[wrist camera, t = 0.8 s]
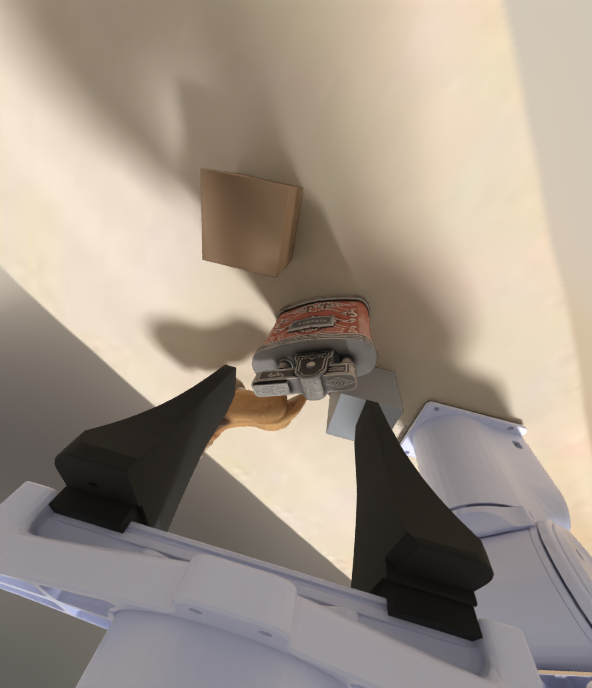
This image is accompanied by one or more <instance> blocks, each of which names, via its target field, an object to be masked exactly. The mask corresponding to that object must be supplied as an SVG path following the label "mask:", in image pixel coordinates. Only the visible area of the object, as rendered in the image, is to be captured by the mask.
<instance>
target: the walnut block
mask: <svg viewBox="0 0 592 688" xmlns="http://www.w3.org/2000/svg"><path fill="white" fill-rule="evenodd" d="M302 193H303V188H301V187H297V186H292V185H287V184H283V183H278V182H274V181H269V180H265V179H260V178H255V177H251V176H246V175H242V174H237V173H231V172H224V171H216V170H209V169H202V168H201V210H202V260H206V261H210V262H214V263H218V264H222V265H226V266H230V267H235V268H239V269H243V270H247V271H251V272H255V273H259V274H264V275H268V276H272V277H277V276H278V275H279V274H280V272H281V271H282V270H283V269H284V268H285V267H286V265H287V264H288V263H289V262H290V261H291V259H292V253H293V247H294V241H295V235H296V229H297V223H298V217H299V211H300V205H301V199H302Z"/></svg>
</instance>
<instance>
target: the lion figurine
mask: <svg viewBox="0 0 592 688" xmlns="http://www.w3.org/2000/svg"><path fill="white" fill-rule="evenodd" d="M306 400H307V399H306V398H305V396H303V395H302V394H299V395H297V396H295V397H293V398H291V399H289V400H287V395H280V396H265V397H258V396H256V395H255V393H254V392H253V391H250V390H245V388H244V387H238V388H236V390H235V396H234V398H233V401H232V403H231V405H230V407H229V409H228V411H227V413H226V415H225V416H224V418H223V420H222V421H221V423H220V425H219V426H218V428H217V430H216V431H215V433H214V434H213V436H212V438H211V439H210V441H209V443H208V444H207V446H206V448H205V450H204V451H203V453H202V455H201V457H200V458H202V457H203V455H204V452H205V451H206V450H207V448H208V447H210V446H211V445H212V444H213V442H214V440H215V439H216V438H217V437H218V436H219V435H220V434H221V432H223V431H224V430H226V429H228V428H232V427H244V426H253V427H257V428H260V429H263V430H267V431H276V430H280V429H283V428H285V427H287V426H288V425H289V423H290V422H291V420H292V419H293V418H294V417H295V416H296V415H297V414H298V413H299V412H300V410H301V409H302V407H303V406H304V404H305V402H306Z"/></svg>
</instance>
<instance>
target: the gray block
mask: <svg viewBox="0 0 592 688" xmlns="http://www.w3.org/2000/svg"><path fill="white" fill-rule="evenodd" d="M366 400H370V401H374V402H378V403H379V405H380V407H381V409H382V411H383V413H384V415H385V417H386V419H387V421H388V423H389V425H390V427H391V429H393V427H394V425H395V424H396V422H397V420H398V419H399V417H400V415H401V414H402V412H403V410H404V409H403V405H402V401H401V397H400V393H399V389H398V384H397V380H396V376H395V372H392V371H388V370H384V369H380V368H376V367H374V369H373V370H372V371H371V372H370V373H368V374H365V375H363V376H358V377H357V387H356V389H354V390H350V391H337V392H331V394H330V399H329V409H328V419H327V429H326V434H330V435H334V436H337V437H341V438H344V439H348V440H352V441H355V427H356V423H357V421H358V419H359V416H360V414H361V412H362V409H363V407H364V404H365V402H366Z"/></svg>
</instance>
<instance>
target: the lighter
mask: <svg viewBox="0 0 592 688" xmlns="http://www.w3.org/2000/svg"><path fill="white" fill-rule="evenodd" d="M369 317H370V308H369V304H368V302H367V300H366V299H365V298H364V297H362V296H360V295H346V294H337V295H327V296H318V297H314V298H310V299H306V300H302V301H299V302H296V303H293V304H291V305H288V306H285V307H284V308H282V309H281V311H280V312H279V314H278V316H277V319H276V323H275V325H274V327H273V329H272V331H271V332H270V334H269V336H268V338H267V339H266V341H265V343H264V345H263V346H261V347H260V348H259V349H258V350H257V352H256V353H255V355H254V357H253V359H252V367H253V370H254V371H255V373H256V376H255V378H254V380H253V382H252V384H251V386H252V389H253V391H254V393H255V395H256V396H258V397H265V396H280V395H292V394H302V395H303V396H305V398H306V399H307V400H310V401H311V400H320V399H322V398H324V397H325V396H326V395H327V394H329V393H330V392H337V391H350V390H354V389H356V387H357V377H358V376H363V375H365V374H368V373H370V372H371V371H372V370H373V369H374V367H375V365H376V363H377V353H376V348H375V345H374V343H373V342H372V339H371V331H370V324H369Z"/></svg>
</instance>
